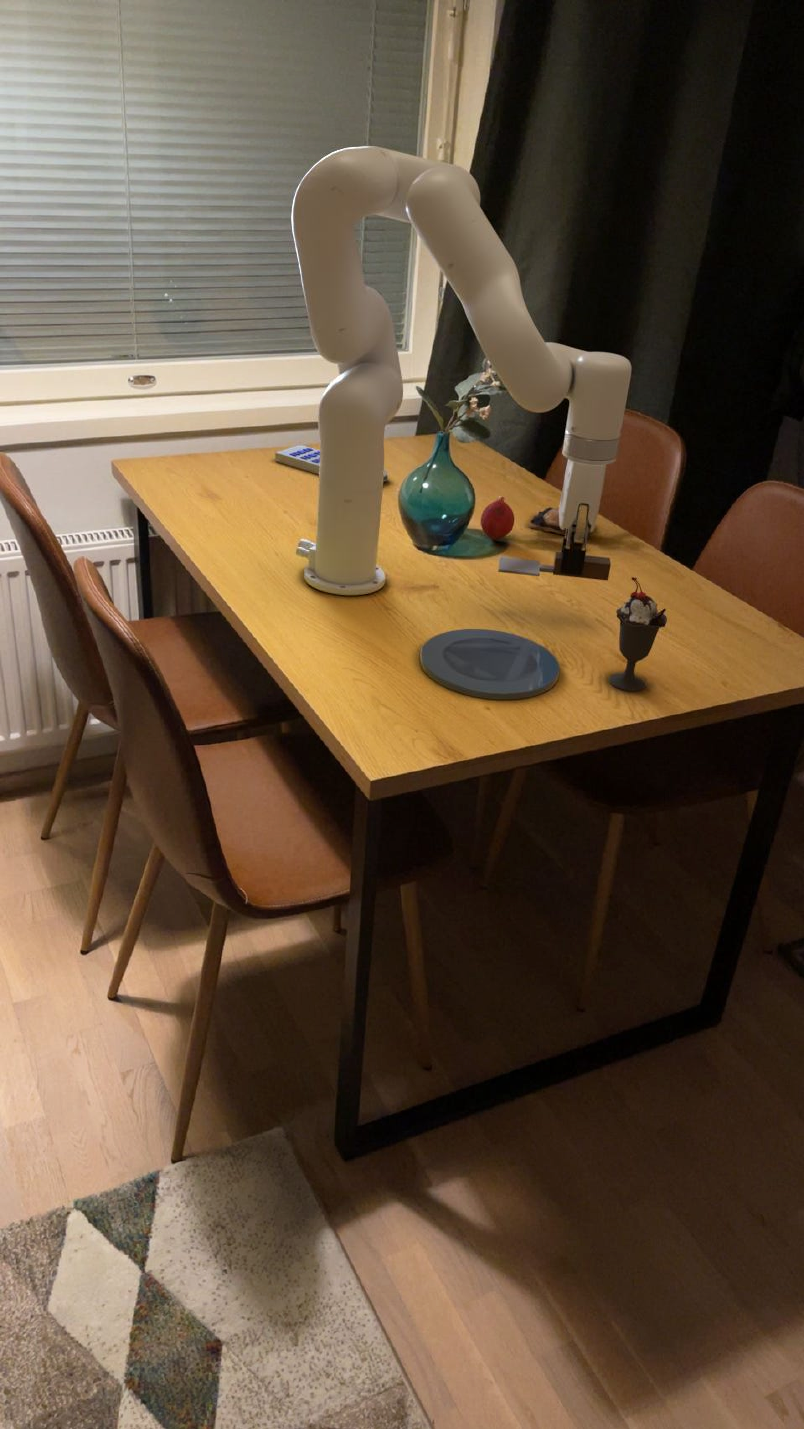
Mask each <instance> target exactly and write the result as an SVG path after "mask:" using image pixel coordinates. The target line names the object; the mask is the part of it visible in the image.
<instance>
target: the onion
mask: <svg viewBox="0 0 804 1429" xmlns="http://www.w3.org/2000/svg"><path fill="white" fill-rule="evenodd" d="M505 499H506V498H505V497H504V496H503V495H499V496H498V497H497V499H496V500H494V501H492V502H491V503H489V504H488V505H487V506H486V507H485V508H484V509H483V511H482V513H481V516H480V526H481V530H482V531H483V533H484V534H485V535H486V536H487V537H488V538H489V539H490V540H492V541H493V542H498V541H499V540H501V539H503V538H504V537H506V536H508V535H509V534H510V533H511V532H512V530H513V528H514V525H515V514H514V511H513V509H512V508H511V506H510V505H509V504H508V503H507V502H505Z"/></svg>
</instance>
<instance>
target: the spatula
mask: <svg viewBox="0 0 804 1429" xmlns="http://www.w3.org/2000/svg"><path fill="white" fill-rule="evenodd" d="M562 555H563V553H562V552H561V551H555V552H554V557H553V564H552V565H550V564H549V565H547V564H540V560H535V559H525V558H519V557H518V558H517V557H509V556H508V557H507V556H499V557H498V568H497V569H498V573H506V574H514V575H523V576H532V577H540V575H541V572H542V573H551V574H552V575H553V576H561V577H572V578H581V579H587V580H588V579H590V580H596V581H597V580H598V581H609V576H610V571H611V565H612V564H611V558H610V557H606V556H605V557H604V556H596V555H588V554H585V560H584V566H583V572H582V575H570V574H562V573H561V572H560V568H561V561H562Z"/></svg>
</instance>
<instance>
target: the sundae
mask: <svg viewBox="0 0 804 1429" xmlns="http://www.w3.org/2000/svg"><path fill="white" fill-rule="evenodd" d="M631 581H633V582H634V583H635V585H636V589H635V590H634V591H632V592H631V593H630V596H629V597H630V598H629V599H628V600H626V601H625V602H624V603H623V605H621V607H620V608H618V609H617V610H616V611H615V613H616V618H617V619H618V620H619V637H618V648H619V649H618V650H619V652H620V654H621V656H623V658H625V660H626V666H625V668H624V671H623V672H618V673H613V674H612V675H610V676H609V677H608V678H609V679H608V680H609V683H610V685H611V686H613V687H614V688H617V689H619V690H621V691H625V692H640V691H642V690H644V689H645V688H646V682H645V681H644V680H643V679H642V678H641V677H639V676H637V675H635V668H636V664H637V663H638V662H640V661H642V660H644V659H645V658H646V657H648V656H649V654H650V652H651V650H652V648H653V645H654V644H655V643H654V642H655V640H656V637H657V635H658V633H659V630H660V629H661V628H665V627H666V625H667V622H668V618H667V616H666V614H665V612H666V610H667V609H666V608H663V609H662V610H660V611H659V610H658V604H657V603H656V601H655V600H654V598H652V597H651V596H649V595H647V594H646V592H644V591H642V587H641V585H640V582H639V581H638V578H637V577H634V576H631ZM638 590H639V592H638Z"/></svg>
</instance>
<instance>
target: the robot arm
mask: <svg viewBox="0 0 804 1429" xmlns="http://www.w3.org/2000/svg"><path fill="white" fill-rule="evenodd" d="M479 188H480V187H479V184H478V182H477V180H476V179H475V178H474V176H473V175H472V174H471V173H470V172H469V171H468V170H467V169H465V168H463V167H462V166H460V165H457V164H452V163H447V162H443V161H437V160H434V159H429V158H425V157H421V156H417V155H414V154H409V153H406V152H401V151H398V150H394V149H389V148H385V147H380V146H373V145H363V146H353V147H345V148H342V149H338V150H336V151H333V152H331V153H330V154H328V155H326V156H324V157H323V158H321V159H320V160H318V161H317V162H316V163H315V164H314V165H313V166H312V167H311V168H310V169H309V170H308V171H307V173H306V174H305V175H304V177H303V178H302V179H301V181H300V182H299V185H298V187H297V188H296V191H295V194H294V197H293V202H292V205H291V206H292V208H291V227H292V228H291V229H292V236H293V241H294V246H295V252H296V257H297V261H298V268H299V272H300V280H301V286H302V292H303V295H304V296H303V297H304V302H305V307H306V313H307V318H308V325H309V330H310V336H311V339H312V343H313V345H314V348H315V349H316V351H317V352H318V354H319V355H320V356H321V357H322V358H323V359H324V360H325V361H327V362H328V363H331V364H336V365H337V369H338V374H339V376H337V377H336V378H335V379H334V380H333V381H331V382H330V383H329V385H328V386H327V387H326V389H325V390H324V392H323V394H322V396H321V398H320V401H319V405H318V410H317V411H318V413H317V425H318V438H319V439H318V440H319V450H320V466H319V474H318V495H317V496H318V497H317V514H316V532H315V535H316V536H315V542H314V541H312V540H308V539H306V538H301V539H300V540H299V542H298V545H297V548H296V550H295V555H296V556H298V557H300V558H305V559H307V560H308V564H307V565H306V566H305V567H304V573H303V578H304V580H305V582H306V583H307V584H308V585H309V586H311V587H312V588H314V589H316V590H318V591H321V592H323V593H329V594H333V595H338V596H339V595H340V596H359V595H360V596H361V595H368V594H371V593H374V592H377V591H379V590H381V588H383V587H384V586H385V584H386V579H387V578H386V573H385V572H384V570H383V569H382V568H381V567H379V566H378V565H377V563H378V550H379V538H380V526H381V514H382V500H383V490H384V489H383V488H384V482H383V476H384V470H385V429H386V426H387V425H388V424H389V422H390V421H391V420H392V419H393V418H394V417H395V416H396V415H397V413H398V412H399V410H400V408H401V406H402V403H403V398H404V382H403V376H402V370H401V364H400V357H399V356H400V355H399V351H398V345H397V340H396V333H395V326H394V321H393V316H392V313H391V310H390V308H389V306H388V304H387V301H386V299H385V298H384V297H383V296H382V295H381V294H380V293H379V292H378V291H377V290H376V289H375V288H373V287H371V286H369V285H367V284H366V282H365V276H364V270H363V262H362V257H361V252H360V249H359V245H358V242H357V240H356V237H355V226H356V223H357V222H358V221H359V220H361V219H363V218H367V217H371V216H379V217H383V218H387V219H391V220H396V221H400V222H403V223H408V224H411V226H412V227H413V229H414V230H415V232H416V234H417V235H418V237H419V238H420V240H421V242H422V243H423V245H424V246H425V248H426V249H427V251H428V253H429V254H430V256H431V257H432V259H433V261H434V262H435V264H436V265H437V267H438V268H439V269H440V270H439V271H441V273H442V275H443V276H444V278H445V279H446V281H447V282H448V284H449V285H450V287H451V288H452V290H453V292H454V293H455V295H456V296H457V298H458V300H459V302H461V305H462V307H463V310H464V313H465V316H466V318H467V320H468V323H469V324H470V327H471V329H472V330H473V332H474V334H475V337H476V340H477V341H478V343H479V345H480V347H481V349H482V352H483V353H484V355H485V357H486V359H487V360H488V362H489V364H490V366H491V368H492V369H493V370H494V373H496V374H497V376H498V378H499V379H500V382H502V384H503V386H504V387H505V389H506V390H507V392H508V394H509V395H510V396H511V397H512V399H513V400H514V401H515V402H516V403H517V404H518V405H519V406H520V407H522V408H523V409H524V410H526V411H529V412H532V413H537V414H540V413H546V412H550V411H551V410H553V409H555V408H556V407H558V406H559V405H560V404H561V403H562V401H564V399H567V400H568V402H569V406H568V412H567V419H566V425H565V432H564V437H563V445H562V452H561V455H562V456H563V457H564V458H566V459H567V462H566V467H565V472H564V478H563V485H562V489H561V490H562V491H561V496H560V500H559V501H560V502H559V506H558V507H559V526H560V528H561V529H562V530H564V529H565V528H566V533H565V534H564V537H563V538H562V545H561V551H560V552H562V553H563V555H562V561H561V568H560V572H561V573H562V574H570V575H582V572H583V566H584V560H585V555H587V541H588V535H589V533H593V532H594V531H595V529H596V524H597V519H598V514H599V509H600V506H601V501H602V500H601V499H602V496H603V495H602V494H603V489H604V483H605V478H606V473H607V472H606V471H607V465H611V464H614V463H616V461H617V456H618V452H619V445H620V440H621V433H622V429H623V422H624V416H625V411H626V406H627V400H628V396H629V389H630V382H631V378H632V369H633V368H632V364H631V362H630V360H629V359H628V358H626V357H625V356H623V355H620V354H616V353H613V352H606V351H586V350H582V349H578V348H575V347H571V346H568V345H565V344H561V343H557V342H553V341H552V342H551V341H547V342H546V341H545V339H544V338H543V337H542V335H541V333H540V332H539V329H538V328H537V326H536V325H535V323H534V321H533V319H532V317H531V315H530V312H529V310H528V308H527V305H526V301H525V300H524V296H523V292H522V286H521V278H520V274H519V271H518V268H517V264H516V263H515V261H514V259H513V258H512V256H511V254H510V253H509V251H508V250H507V249H506V247H505V245H504V243H503V242H502V240H501V238H500V237H499V235H498V234H497V232H496V230H495V229H494V227H493V225H492V224H491V222H490V221H489V219H488V217H487V215H486V214H485V212H484V211H483V209H482V208H481V192H480V189H479ZM588 530H589V533H588Z"/></svg>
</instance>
